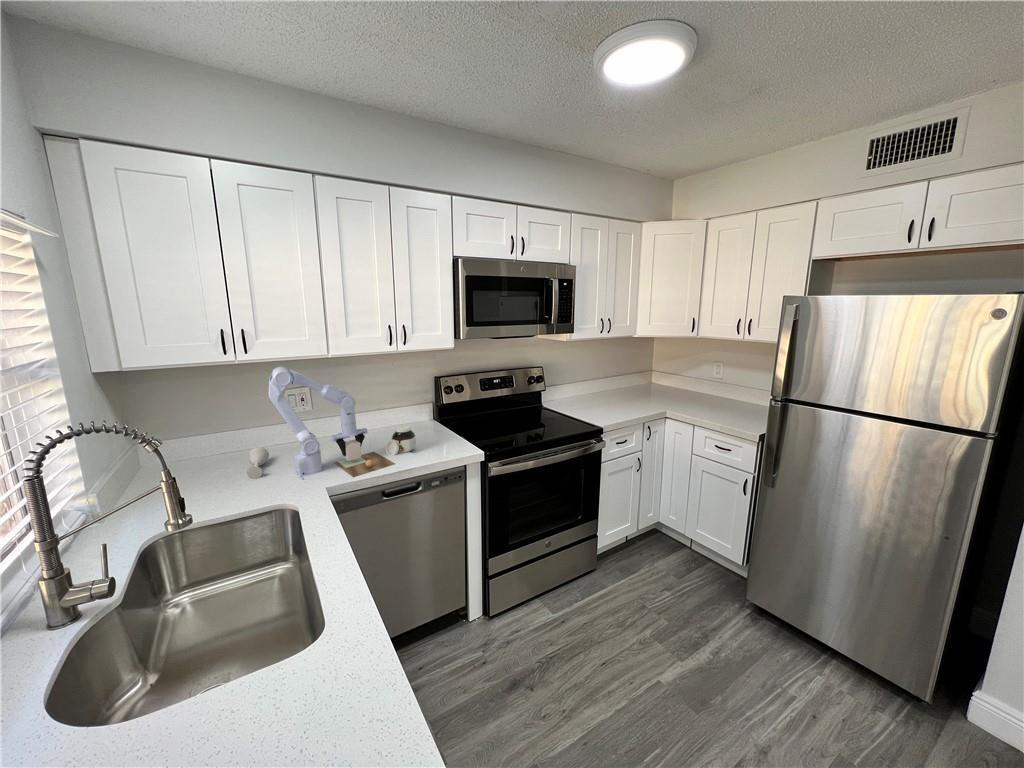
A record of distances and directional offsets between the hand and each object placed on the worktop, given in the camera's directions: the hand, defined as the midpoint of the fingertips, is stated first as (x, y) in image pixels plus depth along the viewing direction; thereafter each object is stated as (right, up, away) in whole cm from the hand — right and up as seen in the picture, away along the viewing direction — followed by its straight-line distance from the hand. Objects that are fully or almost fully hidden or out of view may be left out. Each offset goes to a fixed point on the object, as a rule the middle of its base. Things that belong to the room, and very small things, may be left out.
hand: (351, 453), depth 174 cm
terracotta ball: (+9, -3, -5) cm, 11 cm away
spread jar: (+17, -2, +13) cm, 22 cm away
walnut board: (+6, -5, 0) cm, 8 cm away
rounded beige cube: (0, -2, 0) cm, 2 cm away
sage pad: (0, -4, +1) cm, 4 cm away
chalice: (-33, -6, -12) cm, 36 cm away
